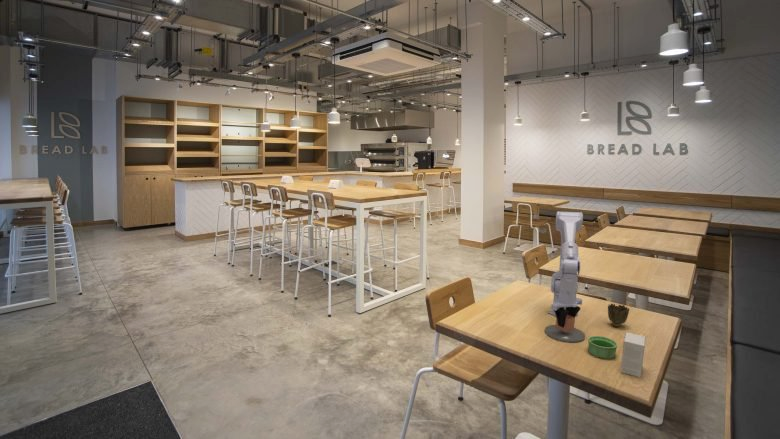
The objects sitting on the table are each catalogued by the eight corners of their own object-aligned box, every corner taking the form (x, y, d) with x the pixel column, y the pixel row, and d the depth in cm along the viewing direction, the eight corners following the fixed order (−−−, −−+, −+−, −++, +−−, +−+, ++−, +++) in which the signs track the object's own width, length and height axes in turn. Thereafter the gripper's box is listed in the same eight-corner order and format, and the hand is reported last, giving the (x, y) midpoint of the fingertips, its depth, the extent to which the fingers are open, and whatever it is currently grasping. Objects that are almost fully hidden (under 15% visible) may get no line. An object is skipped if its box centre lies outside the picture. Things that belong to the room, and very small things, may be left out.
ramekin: (605, 362, 133) (606, 349, 132) (581, 350, 141) (582, 338, 140) (622, 356, 137) (623, 344, 136) (598, 345, 145) (599, 333, 144)
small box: (622, 361, 133) (625, 331, 131) (642, 367, 130) (646, 336, 128) (620, 372, 127) (623, 340, 125) (641, 378, 123) (644, 345, 122)
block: (562, 325, 156) (563, 312, 155) (574, 330, 152) (575, 317, 151) (555, 327, 154) (556, 314, 153) (566, 332, 150) (567, 319, 149)
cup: (626, 324, 163) (628, 305, 162) (628, 331, 156) (630, 311, 155) (605, 321, 166) (607, 302, 165) (606, 327, 159) (608, 308, 158)
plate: (562, 324, 163) (562, 322, 162) (593, 338, 150) (593, 336, 150) (536, 330, 156) (536, 328, 156) (567, 345, 144) (567, 343, 144)
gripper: (563, 296, 144) (560, 332, 146) (590, 290, 150) (587, 325, 152) (547, 290, 150) (545, 325, 152) (574, 285, 156) (571, 318, 159)
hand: (565, 325), depth 153 cm, fingers closed on block, 4 cm apart
